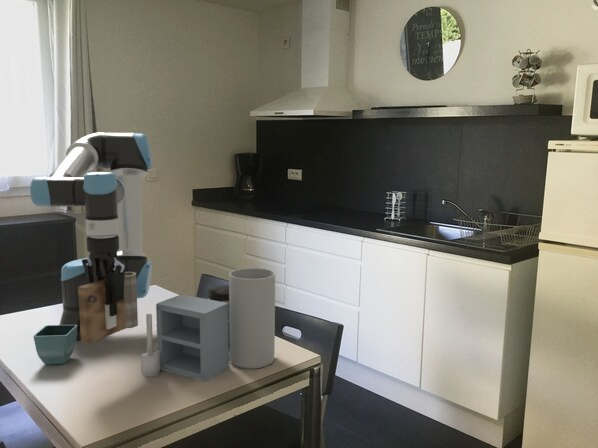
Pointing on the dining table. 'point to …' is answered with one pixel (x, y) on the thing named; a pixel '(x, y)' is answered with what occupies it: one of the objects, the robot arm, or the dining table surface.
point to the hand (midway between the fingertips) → (106, 326)
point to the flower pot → (55, 343)
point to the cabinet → (188, 338)
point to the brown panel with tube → (94, 309)
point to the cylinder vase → (252, 317)
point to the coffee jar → (220, 296)
